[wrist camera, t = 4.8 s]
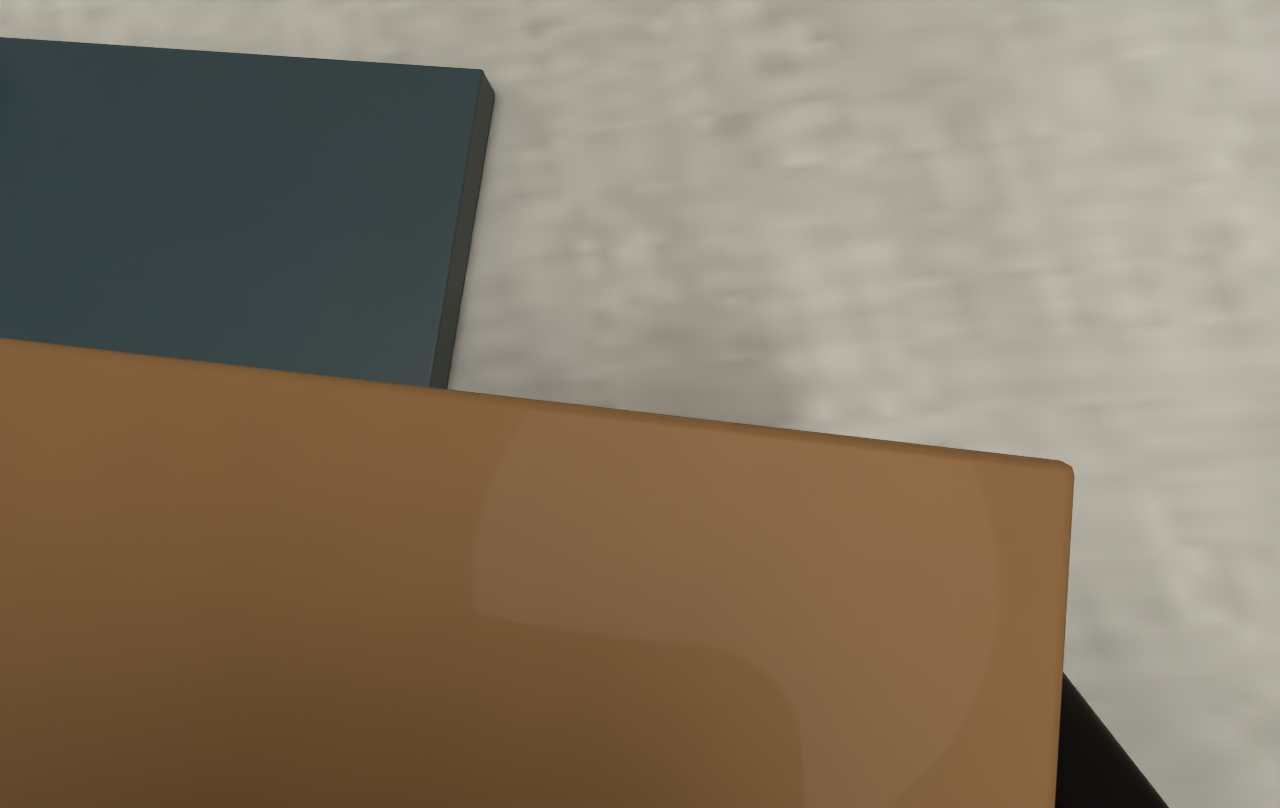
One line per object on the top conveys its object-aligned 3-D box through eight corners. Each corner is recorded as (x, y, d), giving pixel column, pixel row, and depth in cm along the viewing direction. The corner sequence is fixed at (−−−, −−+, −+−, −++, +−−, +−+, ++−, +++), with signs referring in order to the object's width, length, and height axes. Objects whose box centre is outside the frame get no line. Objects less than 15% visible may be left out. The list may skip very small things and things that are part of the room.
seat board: (338, 1053, 16) (250, 1172, 13) (-277, 917, 18) (-479, 996, 15) (495, 92, 19) (452, 11, 16) (-53, 54, 20) (-184, -26, 17)
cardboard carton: (784, 774, 16) (1018, 1781, 3) (479, 724, 17) (-337, 1372, 4) (810, 510, 17) (1091, 451, 4) (517, 473, 17) (-70, 318, 5)
